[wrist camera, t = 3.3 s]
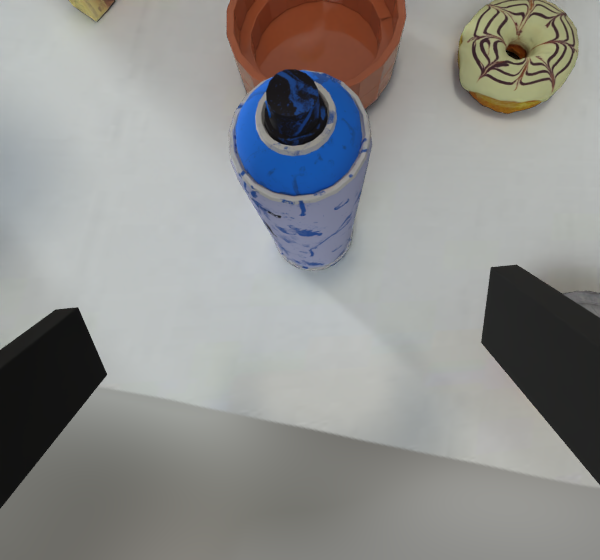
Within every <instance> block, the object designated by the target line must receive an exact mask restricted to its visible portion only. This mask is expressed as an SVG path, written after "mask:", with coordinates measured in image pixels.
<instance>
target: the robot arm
mask: <svg viewBox="0 0 600 560" xmlns="http://www.w3.org/2000/svg"><path fill="white" fill-rule="evenodd" d="M481 343H482V344H483V345H484V346H485V348H486V349H487V350H488V351H489V352H490V354H491V355H492V356H493V357H494V358H495V360H496V361H497V362H498V363H499V364H500V366H501V367H502V368H503V369H504V370H505V372H506V373H507V374H508V375H509V376H510V378H511V379H512V380H513V381H514V382H515V384H516V385H517V386H518V387H519V388H520V390H521V391H522V392H523V393H524V394H525V396H526V397H527V398H528V399H529V400H530V402H531V403H532V404H533V405H534V406H535V408H536V409H537V410H538V411H539V412H540V414H541V415H542V416H543V417H544V418H545V420H546V421H547V422H548V423H549V424H550V426H551V427H552V428H553V429H554V430H555V432H556V433H557V434H558V435H559V436H560V438H561V439H562V440H563V441H564V442H565V444H566V445H567V446H568V447H569V448H570V450H571V451H572V452H573V453H574V454H575V456H576V457H577V458H578V459H579V460H580V462H581V463H582V464H583V465H584V466H585V468H586V469H587V470H588V471H589V472H590V474H591V475H592V476H593V477H594V478H595V480H596V481H597V482H598V483H599V484H600V317H598V316H596V315H595V314H593V313H592V312H590V311H589V310H587V309H585V308H584V307H582V306H581V305H579V304H578V303H576V302H574V301H573V300H571V299H570V298H568V297H567V296H565V295H563V294H562V293H560V292H559V291H557V290H556V289H554V288H552V287H551V286H549V285H548V284H546V283H545V282H543V281H541V280H540V279H538V278H537V277H535V276H534V275H532V274H530V273H529V272H527V271H526V270H524V269H523V268H521V267H519V266H518V265H510V266H499V267H491V271H490V279H489V286H488V294H487V302H486V310H485V318H484V325H483V333H482V341H481ZM106 375H107V373H106V371H105V369H104V366H103V364H102V362H101V359H100V357H99V355H98V352H97V350H96V348H95V345H94V343H93V341H92V339H91V336H90V334H89V332H88V329H87V327H86V325H85V322H84V320H83V318H82V315H81V313H80V311H79V308H67V309H57V310H54V311H53V312H52V313H50V314H49V315H48V316H46V317H45V318H43V319H42V320H41V321H39V322H38V323H37V324H35V325H34V326H33V327H31V328H30V329H28V330H27V331H26V332H24V333H23V334H22V335H20V336H19V337H17V338H16V339H15V340H13V341H12V342H11V343H9V344H8V345H7V346H5V347H4V348H2V349H1V350H0V508H1V507H2V506H3V504H4V503H5V502H6V501H7V500H8V498H9V497H10V496H11V494H12V493H13V492H14V491H15V489H16V488H17V487H18V486H19V484H20V483H21V482H22V481H23V479H24V478H25V477H26V476H27V474H28V473H29V472H30V471H31V469H32V468H33V467H34V466H35V464H36V463H37V462H38V461H39V459H40V458H41V457H42V456H43V454H44V453H45V452H46V451H47V449H48V448H49V447H50V446H51V444H52V443H53V442H54V440H55V439H56V438H57V437H58V435H59V434H60V433H61V432H62V431H63V429H64V428H65V427H66V426H67V424H68V423H69V422H70V421H71V419H72V418H73V417H74V416H75V414H76V413H77V412H78V411H79V409H80V408H81V407H82V406H83V404H84V403H85V402H86V401H87V399H88V398H89V397H90V396H91V394H92V393H93V392H94V390H95V389H96V388H97V387H98V385H99V384H100V383H101V382H102V380H103V379H104V378H105V377H106Z"/></svg>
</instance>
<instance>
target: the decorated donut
mask: <svg viewBox="0 0 600 560" xmlns="http://www.w3.org/2000/svg"><path fill="white" fill-rule="evenodd" d="M506 50H508V51H509V52H513V53H515V54H516V55H517V56H518V57H519V58H520V60H515V59H513V58H512V57H510V56H508V54H507V53H506ZM577 56H578V36H577V29H576V27H575V26H574V24H573V22H572V21H571V20H570V19H569V17H568V16H567V14H566V13H565V12H564V11H563V10H561V9H559V8H558V7H557V6H556V5H555V4H552V3H550V2H547V1H545V0H494V1H493V2H491V3H490V4H488V5H485V6H484V7H483V8H482V9H480V10H479V11H478V13H477V14H476V15H475V16H474V17H473V18H472V20H471V21H470V22H469V23H468V24H467V25H466V26H465V28H464V30H463V33H462V35H461V37H460V41H459V50H458V65H459V70H460V71H459V77H460V83H461V85H462V87H463V88H464V89H466V90H468V91H469V93H470V94H471V95H472V97H473V98H474V99H476V100H477V101H478V102H479V103H480V104H482V105H483V106H486V107H489V108H491V109H493V110H495V111H497V112H503V113H507V114H508V113H512V112H515V111H520V110H525V109H528V108H531V107H534V106H536V105H537V104H539V103H541V102H544V101H546V100H548V99H549V98H550V97H551V96H552V95H553V94H554V93H555V92H556V91H557V90H558V89H559V88H560V87H561V86H562V85H563V83H564V82H565V81H566V79H567V77H568V76H569V74H570V73H571V71H572V69H573V68H574V66H575V63H576V60H577Z"/></svg>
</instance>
